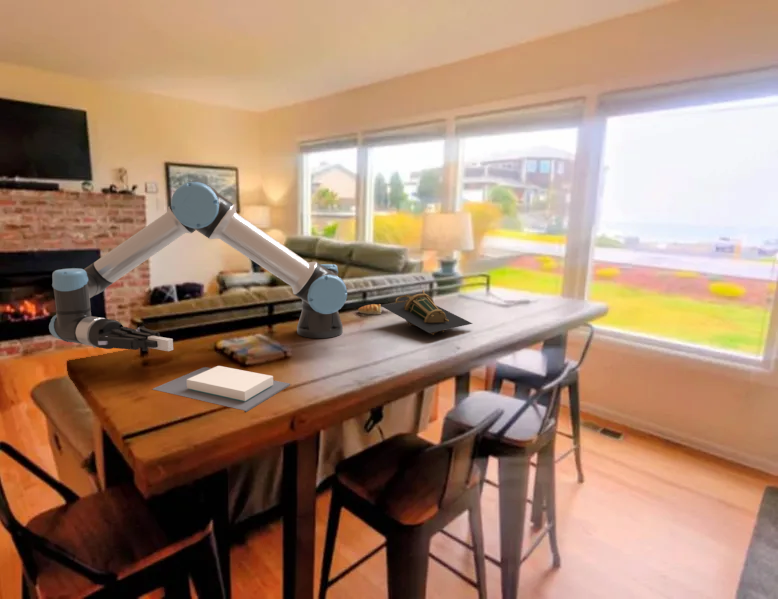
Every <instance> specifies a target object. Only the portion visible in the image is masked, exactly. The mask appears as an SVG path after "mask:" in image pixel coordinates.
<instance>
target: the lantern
mask: <svg viewBox="0 0 778 599" xmlns="http://www.w3.org/2000/svg"><path fill="white" fill-rule="evenodd" d="M401 298H408V299H407V300H399V299H401ZM380 306H381V308H384V309H385V310H387V311H389V312H391V313H393V314H394V315H395V316H398V317H399V318H402V319H404V320H405V321H406V322H407V325H409V326H412V327H413V326H414V327H418V328H420V329H421V330H423V331H424V332H426V333H428V334H432V335H433V336H434V335H435V334H436V333H439V332H442V333H444V332H445V330H451V329H454V328H460V327H464V326H468V325H473V322H471V321H469V320H467V319H464V318H462V317H461V316H459V315H457V314H454V313H452V312H450V311H448V310H446V309H444V308H442V307H440V306H439V305H437V304H435V301H434V299H433V298H432V297H431V296H430V295H428V294H426V293H425V290H424V289H423V290H422V293H418V294H417V293H416V294H414V295H410V294H407V293H406V295H400V296H398V297H397V298H396V299H395V301H394V302H393V303H386V304H381V305H380Z"/></svg>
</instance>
